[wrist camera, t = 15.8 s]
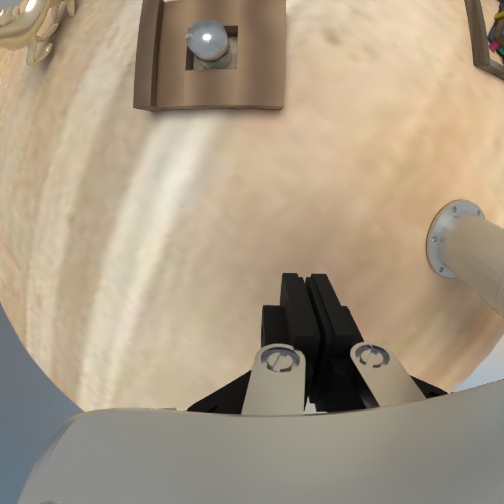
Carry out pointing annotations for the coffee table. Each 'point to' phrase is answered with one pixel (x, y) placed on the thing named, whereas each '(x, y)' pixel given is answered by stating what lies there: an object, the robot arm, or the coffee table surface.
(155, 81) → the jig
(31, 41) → the unicorn
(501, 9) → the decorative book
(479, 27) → the book frame
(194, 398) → the coffee table surface
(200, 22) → the blue-grey domed cylinder
